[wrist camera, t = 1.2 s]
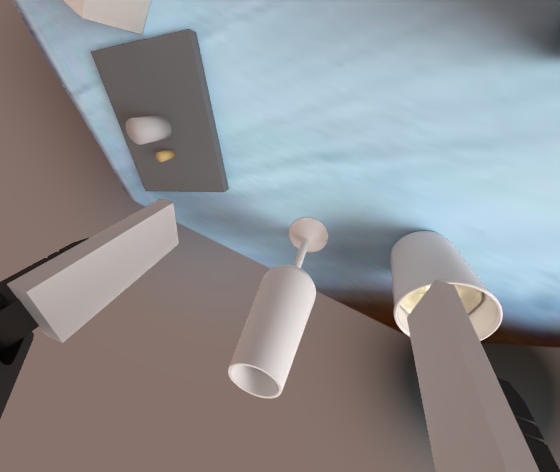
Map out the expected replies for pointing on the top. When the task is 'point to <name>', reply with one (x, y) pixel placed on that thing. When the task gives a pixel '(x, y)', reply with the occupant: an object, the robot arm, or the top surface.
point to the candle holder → (444, 267)
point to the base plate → (165, 111)
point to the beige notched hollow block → (114, 12)
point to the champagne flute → (278, 318)
